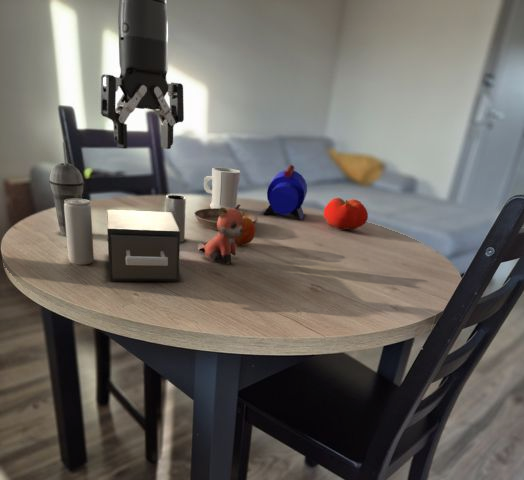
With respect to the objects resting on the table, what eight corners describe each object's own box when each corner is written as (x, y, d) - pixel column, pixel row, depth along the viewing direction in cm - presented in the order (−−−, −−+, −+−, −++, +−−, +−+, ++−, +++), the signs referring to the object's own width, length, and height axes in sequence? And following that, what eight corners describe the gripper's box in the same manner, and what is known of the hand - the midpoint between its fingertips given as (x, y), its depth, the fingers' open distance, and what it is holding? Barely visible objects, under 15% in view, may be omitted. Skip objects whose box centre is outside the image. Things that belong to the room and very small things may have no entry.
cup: (209, 212, 149) (211, 171, 143) (201, 205, 156) (203, 166, 150) (241, 212, 152) (244, 173, 147) (232, 206, 160) (235, 168, 154)
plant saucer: (183, 226, 130) (184, 215, 128) (207, 214, 145) (208, 204, 144) (245, 238, 126) (246, 226, 125) (263, 224, 142) (264, 214, 140)
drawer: (180, 290, 87) (181, 247, 83) (113, 290, 83) (111, 245, 80) (168, 256, 103) (169, 219, 99) (112, 255, 100) (110, 217, 96)
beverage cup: (86, 229, 118) (80, 141, 108) (88, 237, 112) (82, 145, 102) (54, 229, 115) (45, 138, 106) (54, 237, 109) (44, 142, 100)
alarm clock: (304, 214, 161) (311, 167, 154) (299, 221, 150) (307, 171, 143) (268, 208, 163) (274, 161, 156) (261, 215, 152) (267, 165, 145)
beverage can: (66, 264, 95) (61, 202, 89) (71, 257, 99) (66, 197, 93) (92, 266, 95) (88, 204, 90) (95, 258, 100) (92, 199, 94)
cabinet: (178, 281, 93) (180, 231, 89) (109, 281, 89) (107, 228, 85) (170, 257, 106) (171, 212, 101) (109, 256, 102) (107, 209, 97)
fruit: (243, 250, 116) (246, 217, 113) (220, 243, 119) (222, 210, 116) (259, 245, 122) (262, 213, 118) (237, 238, 125) (239, 207, 121)
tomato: (313, 227, 145) (318, 197, 141) (327, 221, 156) (332, 193, 152) (356, 237, 140) (363, 206, 136) (368, 230, 151) (374, 201, 147)
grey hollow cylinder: (164, 237, 119) (164, 194, 114) (182, 237, 120) (183, 195, 116) (167, 242, 115) (168, 198, 110) (186, 242, 117) (187, 199, 112)
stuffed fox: (204, 248, 114) (207, 196, 108) (246, 259, 110) (251, 206, 105) (187, 255, 108) (189, 201, 102) (231, 267, 104) (235, 211, 99)
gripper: (168, 43, 82) (167, 145, 89) (88, 28, 73) (95, 144, 80) (194, 44, 77) (191, 151, 85) (113, 28, 68) (117, 151, 76)
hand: (144, 148), depth 83 cm, fingers open, 8 cm apart
